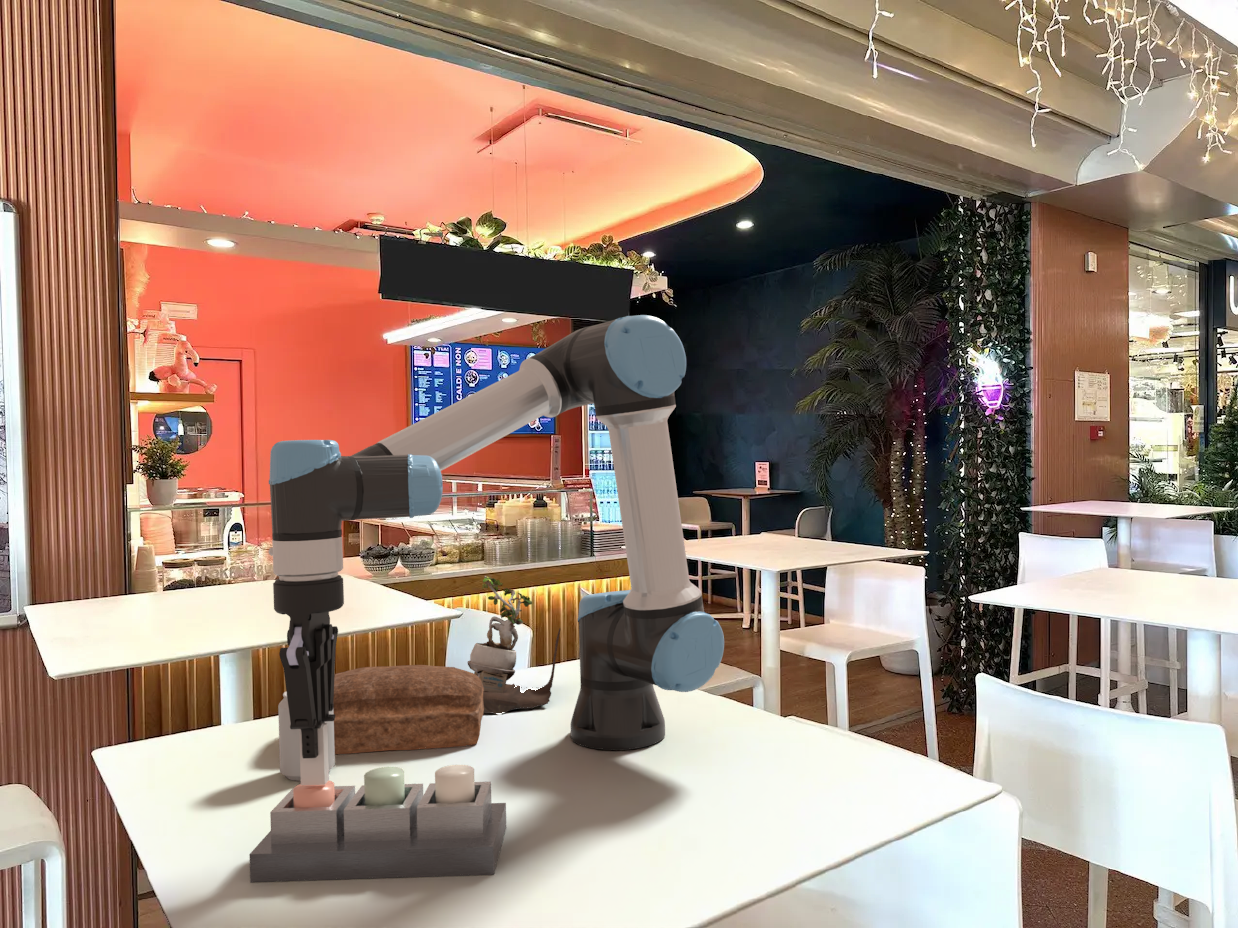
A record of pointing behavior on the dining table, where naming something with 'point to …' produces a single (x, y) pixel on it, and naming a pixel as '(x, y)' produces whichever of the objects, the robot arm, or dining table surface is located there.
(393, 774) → the button sage
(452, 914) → the dining table surface
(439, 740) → the bread
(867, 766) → the dining table surface
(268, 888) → the dining table surface
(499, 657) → the potted plant
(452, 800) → the button ivory
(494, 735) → the dining table surface
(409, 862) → the console
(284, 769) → the can
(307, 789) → the button coral
